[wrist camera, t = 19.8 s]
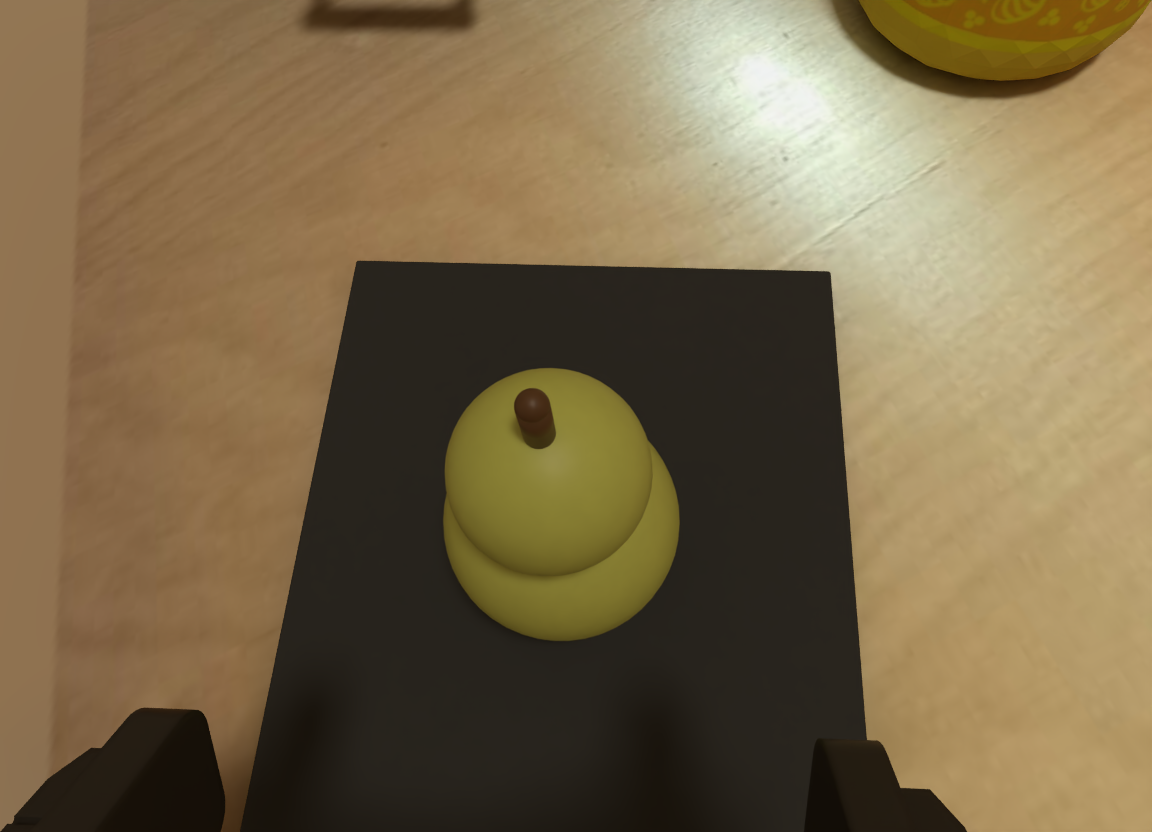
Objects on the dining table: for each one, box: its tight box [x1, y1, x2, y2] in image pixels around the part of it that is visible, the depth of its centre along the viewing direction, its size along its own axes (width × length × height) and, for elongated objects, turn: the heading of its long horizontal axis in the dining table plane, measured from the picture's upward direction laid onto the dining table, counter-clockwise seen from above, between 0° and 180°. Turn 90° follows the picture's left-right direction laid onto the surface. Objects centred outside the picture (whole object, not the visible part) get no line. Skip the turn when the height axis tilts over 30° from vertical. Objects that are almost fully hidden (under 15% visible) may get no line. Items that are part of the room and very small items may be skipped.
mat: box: [240, 261, 867, 832], centre depth 22 cm, size 16×20×1 cm
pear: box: [443, 368, 680, 641], centre depth 17 cm, size 6×6×11 cm
